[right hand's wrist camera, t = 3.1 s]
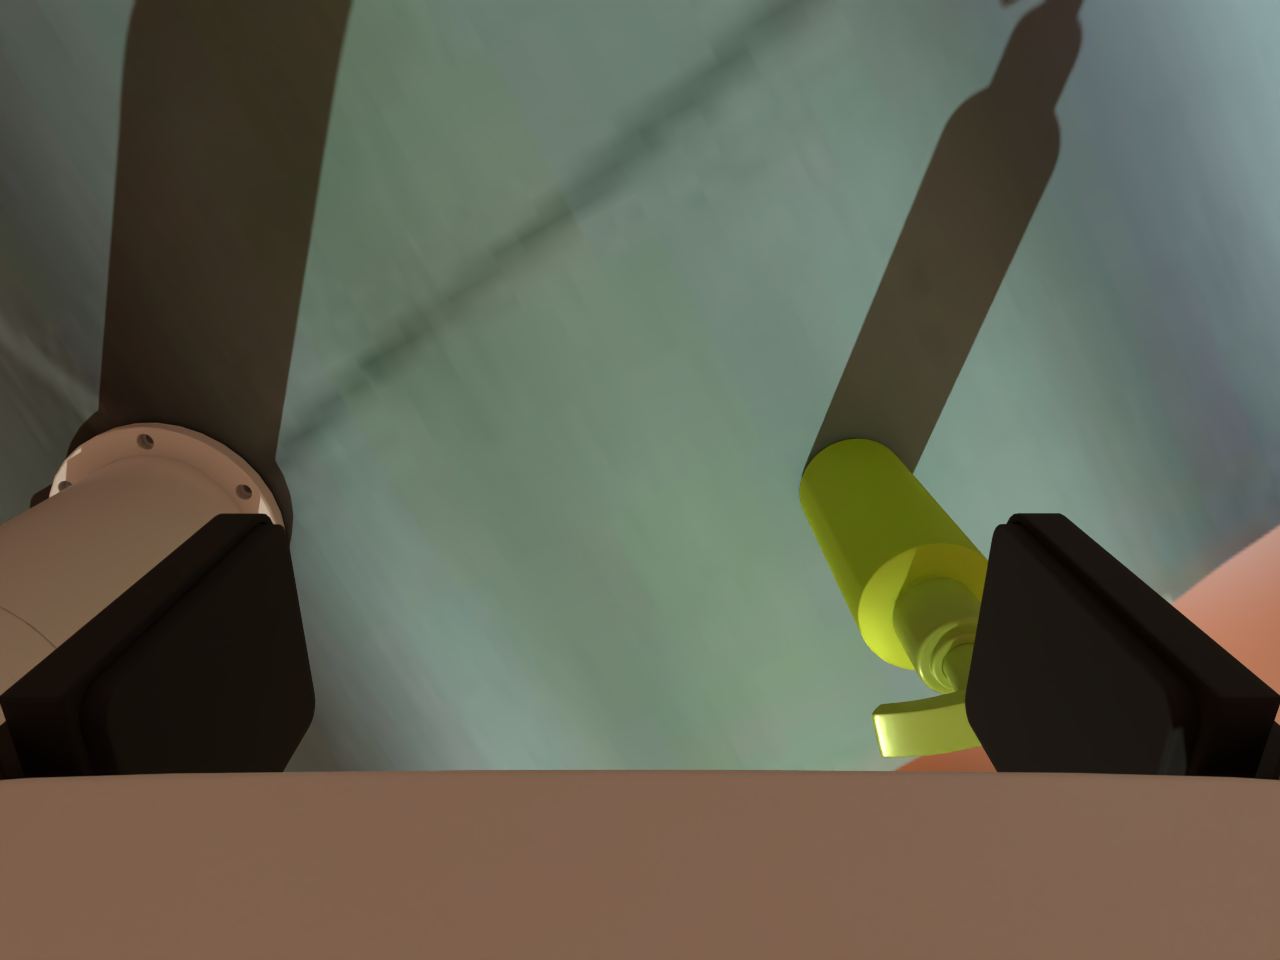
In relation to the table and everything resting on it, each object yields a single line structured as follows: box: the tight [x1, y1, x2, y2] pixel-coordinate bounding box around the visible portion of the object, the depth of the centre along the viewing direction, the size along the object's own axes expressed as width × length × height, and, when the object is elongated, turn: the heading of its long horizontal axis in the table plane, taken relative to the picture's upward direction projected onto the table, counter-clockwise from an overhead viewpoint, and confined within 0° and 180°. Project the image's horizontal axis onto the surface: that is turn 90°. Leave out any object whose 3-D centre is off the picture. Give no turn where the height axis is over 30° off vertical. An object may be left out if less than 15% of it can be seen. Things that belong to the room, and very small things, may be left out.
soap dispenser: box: [800, 439, 988, 757], centre depth 36 cm, size 6×7×20 cm
